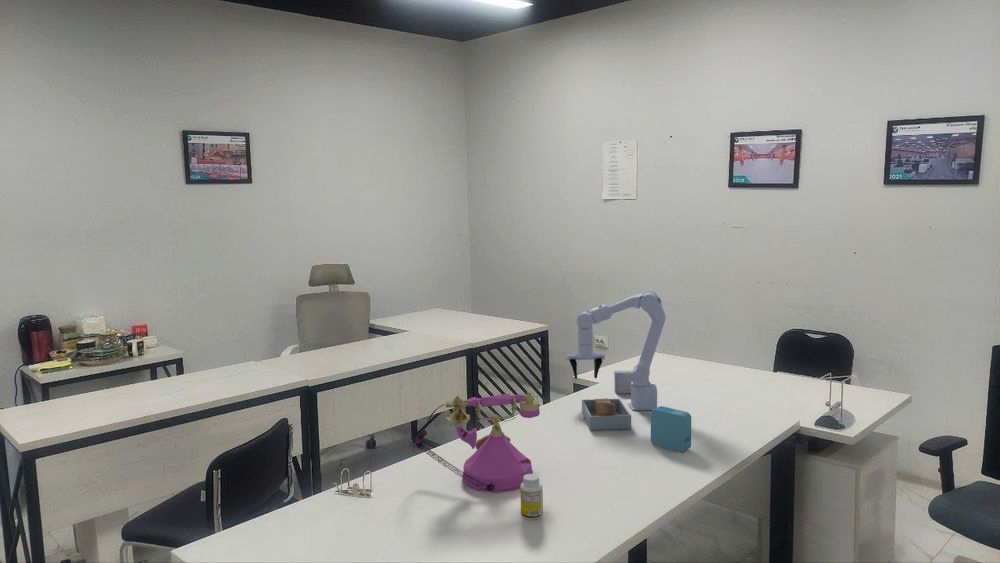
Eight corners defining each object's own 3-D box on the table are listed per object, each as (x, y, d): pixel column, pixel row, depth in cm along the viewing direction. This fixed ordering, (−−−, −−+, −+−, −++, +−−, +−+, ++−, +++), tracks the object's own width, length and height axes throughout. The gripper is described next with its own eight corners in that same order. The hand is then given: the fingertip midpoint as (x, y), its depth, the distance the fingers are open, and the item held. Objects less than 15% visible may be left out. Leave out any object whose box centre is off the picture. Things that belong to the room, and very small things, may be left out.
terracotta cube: (608, 411, 238) (608, 398, 237) (610, 415, 233) (610, 402, 232) (594, 411, 238) (594, 398, 237) (597, 416, 233) (597, 403, 232)
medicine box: (633, 390, 265) (633, 370, 264) (634, 393, 261) (634, 373, 260) (614, 390, 266) (614, 370, 265) (615, 393, 261) (615, 373, 260)
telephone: (532, 459, 197) (530, 379, 194) (551, 490, 175) (550, 402, 172) (415, 470, 191) (412, 389, 188) (420, 505, 169) (416, 413, 166)
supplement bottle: (529, 508, 165) (529, 470, 164) (547, 514, 162) (546, 475, 160) (516, 516, 161) (515, 477, 160) (534, 523, 157) (533, 483, 156)
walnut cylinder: (610, 421, 227) (609, 401, 226) (618, 425, 223) (618, 405, 222) (598, 423, 225) (597, 404, 224) (606, 427, 221) (605, 408, 220)
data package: (691, 449, 201) (691, 412, 200) (684, 453, 198) (684, 416, 197) (657, 440, 210) (657, 405, 208) (650, 444, 206) (650, 408, 205)
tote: (619, 411, 239) (619, 398, 238) (631, 429, 220) (631, 415, 219) (581, 412, 239) (581, 399, 238) (589, 430, 220) (589, 416, 219)
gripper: (602, 340, 250) (602, 374, 252) (565, 341, 250) (565, 375, 252) (605, 344, 243) (605, 379, 245) (567, 345, 243) (567, 380, 245)
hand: (585, 377), depth 248 cm, fingers open, 7 cm apart
